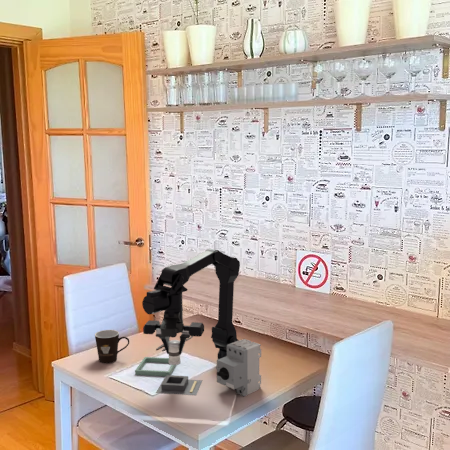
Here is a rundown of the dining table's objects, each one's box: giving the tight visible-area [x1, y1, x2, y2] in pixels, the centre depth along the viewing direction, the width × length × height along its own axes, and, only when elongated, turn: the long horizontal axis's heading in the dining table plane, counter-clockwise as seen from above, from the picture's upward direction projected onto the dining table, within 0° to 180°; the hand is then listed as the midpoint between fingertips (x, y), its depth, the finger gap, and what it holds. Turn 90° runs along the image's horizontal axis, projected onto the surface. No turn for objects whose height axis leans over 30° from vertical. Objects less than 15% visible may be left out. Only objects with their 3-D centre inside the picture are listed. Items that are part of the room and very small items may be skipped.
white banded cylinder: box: [168, 339, 181, 366], centre depth 184 cm, size 4×4×7 cm
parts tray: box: [134, 356, 177, 377], centre depth 200 cm, size 12×12×2 cm
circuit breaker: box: [215, 338, 262, 397], centre depth 183 cm, size 8×14×15 cm, turn 134°
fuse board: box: [155, 374, 203, 396], centre depth 186 cm, size 13×11×3 cm
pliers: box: [155, 336, 194, 352], centre depth 227 cm, size 10×1×20 cm
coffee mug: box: [94, 329, 130, 364], centre depth 209 cm, size 12×9×10 cm
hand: (174, 353), depth 184 cm, fingers closed on white banded cylinder, 4 cm apart
